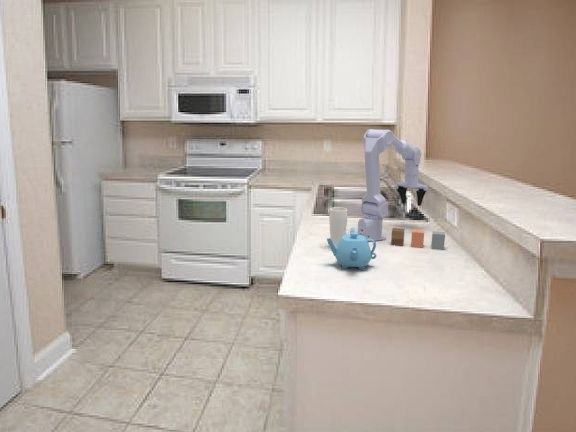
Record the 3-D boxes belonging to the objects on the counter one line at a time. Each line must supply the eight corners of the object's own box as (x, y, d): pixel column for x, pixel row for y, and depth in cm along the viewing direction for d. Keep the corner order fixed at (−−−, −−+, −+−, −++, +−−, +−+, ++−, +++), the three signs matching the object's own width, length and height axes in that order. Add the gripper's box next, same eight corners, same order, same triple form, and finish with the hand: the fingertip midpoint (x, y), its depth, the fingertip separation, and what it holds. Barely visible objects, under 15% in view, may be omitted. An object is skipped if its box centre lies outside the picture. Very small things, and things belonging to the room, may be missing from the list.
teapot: (321, 263, 148) (322, 231, 146) (350, 256, 156) (352, 225, 154) (353, 276, 136) (354, 241, 134) (383, 268, 144) (385, 235, 142)
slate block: (443, 250, 165) (445, 234, 163) (431, 249, 166) (432, 233, 165) (443, 247, 169) (444, 232, 168) (431, 245, 170) (432, 231, 169)
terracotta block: (423, 248, 167) (424, 233, 166) (410, 247, 168) (411, 232, 167) (423, 245, 171) (424, 230, 170) (411, 244, 172) (412, 229, 171)
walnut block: (402, 246, 169) (403, 231, 168) (391, 245, 170) (391, 230, 169) (403, 243, 173) (404, 228, 172) (391, 242, 175) (392, 227, 173)
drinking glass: (325, 245, 169) (326, 207, 165) (340, 243, 171) (342, 206, 168) (333, 250, 163) (335, 211, 159) (349, 248, 165) (351, 209, 162)
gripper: (431, 174, 189) (431, 204, 193) (401, 171, 199) (401, 199, 203) (423, 177, 184) (423, 208, 188) (393, 174, 194) (393, 203, 198)
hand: (411, 204), depth 195 cm, fingers open, 7 cm apart
